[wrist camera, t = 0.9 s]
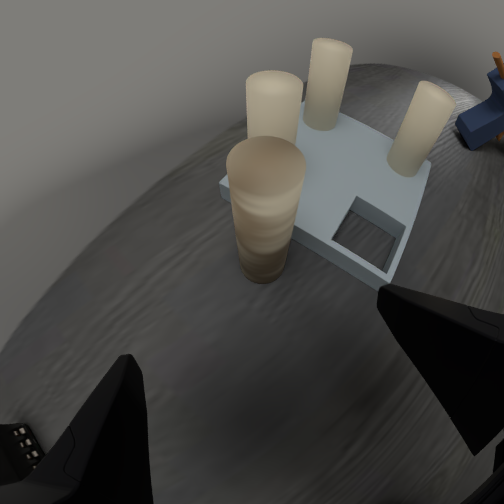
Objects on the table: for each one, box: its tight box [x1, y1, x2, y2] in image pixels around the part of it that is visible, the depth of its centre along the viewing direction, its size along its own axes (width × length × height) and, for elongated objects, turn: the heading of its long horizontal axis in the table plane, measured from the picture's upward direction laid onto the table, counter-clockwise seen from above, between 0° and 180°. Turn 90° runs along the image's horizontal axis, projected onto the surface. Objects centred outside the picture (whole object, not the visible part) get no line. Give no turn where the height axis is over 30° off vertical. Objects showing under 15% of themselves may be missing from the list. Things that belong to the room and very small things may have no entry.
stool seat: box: [219, 38, 456, 291], centre depth 23 cm, size 18×18×13 cm
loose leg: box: [226, 136, 306, 284], centre depth 19 cm, size 4×4×13 cm
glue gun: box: [455, 52, 504, 151], centre depth 29 cm, size 6×31×15 cm
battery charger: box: [0, 423, 45, 486], centre depth 11 cm, size 7×4×11 cm, turn 40°
